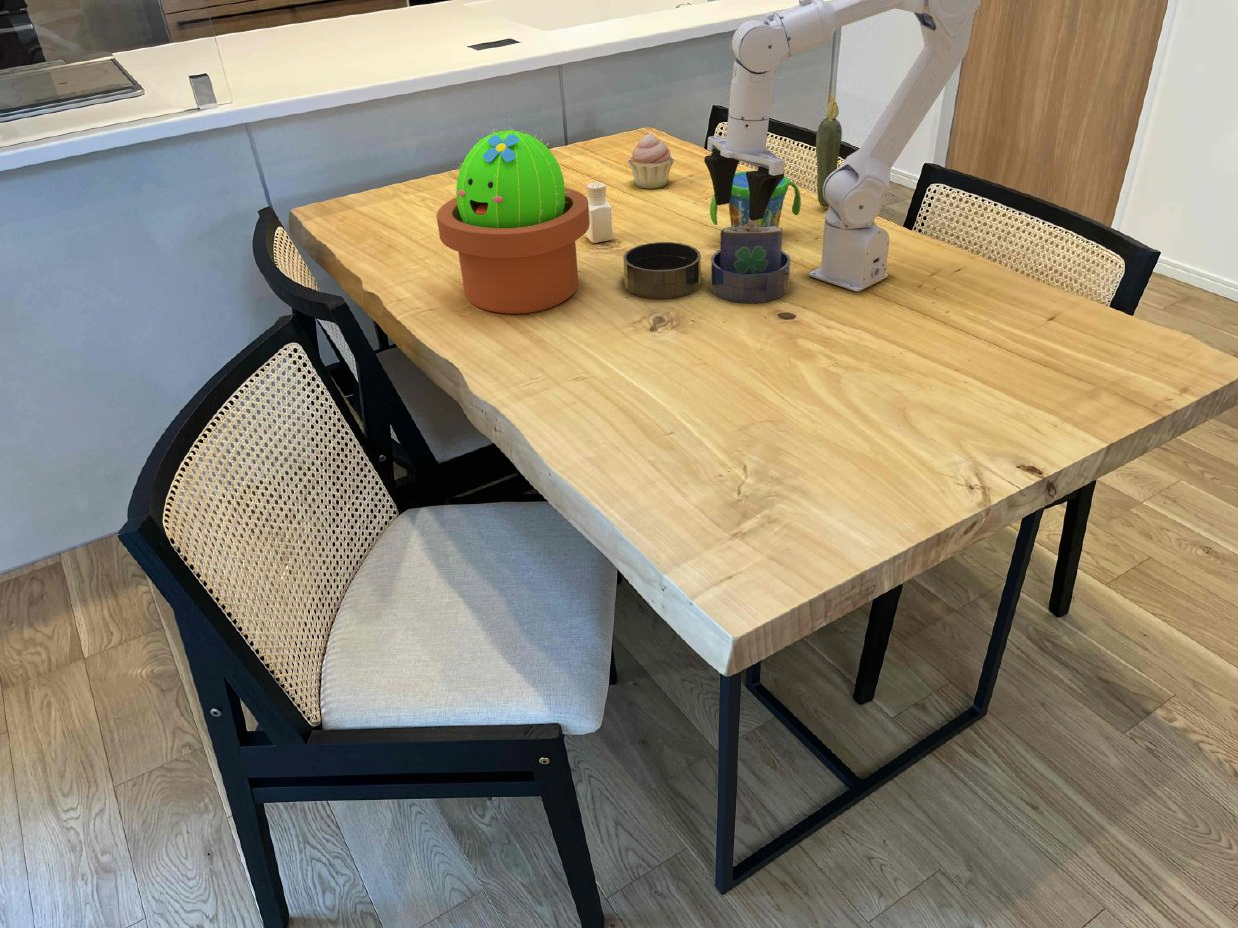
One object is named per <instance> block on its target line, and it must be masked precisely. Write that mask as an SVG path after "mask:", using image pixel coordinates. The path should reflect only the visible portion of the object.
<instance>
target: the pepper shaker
mask: <svg viewBox="0 0 1238 928" xmlns="http://www.w3.org/2000/svg"><path fill="white" fill-rule="evenodd" d="M606 187H607V186H606V183H604V182H599V181H596V182H590V183H588V184H586V193H587V197H586V198H587V200H588V205H589V220H590V225H589V228H588V230H587V232H586V233H585V237H586V238H587V239H588V240H589V241H590V242H591V243H592V244H597V243H603V242H607V241H611V240H613V237H614V235H613V217H612V216H613V214H612V205H611V204H610V203H609V202H608V201H607V191H606V190H607V188H606Z"/></svg>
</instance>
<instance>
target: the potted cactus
mask: <svg viewBox="0 0 1238 928" xmlns="http://www.w3.org/2000/svg"><path fill="white" fill-rule="evenodd" d="M508 128H509V130H506V129H504V130H498V129H496V130H495V128H493V129H491V133H489V134H487V135H486V136H485V137H482V138H481V137H480V136H478V138H477V140H478V142H477V143H475V144H474V145H473V146H472V148H469V147H468V149H469V150H470V151H469V152H468V153H467V155H466V156H465V158H464V159H463V162H460V161H459V163H457V167H456V170H459V172H458V174H457V175H455V176H456V177H455V178H456V189H455V193H456V196H455V197H453V198H452V199H450V200H448V201H446V202H445V203H444V204H443V205H441V206H440V208H439V209H438V210H437V211H436V222H437V229H438V234H439V239H440V241H441V243H442V244H443V245H444V246H445V247H447V248H449V249H451V250H453V251H456V252H458V258H459V259H458V260H459V266H460V273H461V279H462V286H463V292H464V295H465V298H466V300H467V301H468V302H469V303H470V304H471V305H473V306H475V307H476V308H480V309H483V310H485V311H489V312H494V313H500V314H529V313H536V312H540V311H544V310H549V309H551V308H553V307H556V306H557V305H560V304H562V303H563V302H565V301H567V300H568V299H570V298H571V297H572V296H573V295H574V294H575V293H576V291H577V289H578V286H579V273H578V272H579V271H578V260H577V259H578V258H577V247H576V245H577V244H576V241H578V240H579V239H581V238H582V237H583V236H585V235H586V232H587V230H588V228H589V225H590V220H589V205H588V197H586V195H585V194H583V193H582V192H580V191H577V190H575V189H572V188H569V187H570V185H571V184H570V185H569V184H565V180H564V179H566V176H564V175H563V172H565V171H566V169H565V168H564V167H562V168H561V165H560V164H559V162H558V160H557V159H556V157H555V155H554V153H553V152H552V150H550V148H548V146H549V143H546V144H544V142H543V141H542V140H543V136H542V137H541V138H540V140H539V139H538V138H536V137H537V136H538V133H536V135H535V136H532V135H531V134H529V133H527V132H524V131H523V130H519V131H518V130H513V129H511V127H510V126H508ZM458 165H459V166H458ZM567 179H569V178H567Z"/></svg>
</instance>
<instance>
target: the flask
mask: <svg viewBox="0 0 1238 928" xmlns="http://www.w3.org/2000/svg"><path fill="white" fill-rule="evenodd" d="M756 223H757V220H754V221H752V220H750V219H749V222H748V224H746V225H745V226H744V227H743V226H738V227H735V225H732V226H731V225H730V226H727V227H723V228H722V229H721V230H720V243H719V244H720V245H719V246H720V247H719V249H720V250H721V255H720V268H722V269H724V270H727V271H730V272H734V273H742V274H760V273H767V272H771V271H775V270H778V269H780V267H781V251H782V247H783V246H782V245H783V228H781V227H779V226H771V227H759V228H757V227H758V226H757V225H756ZM720 250H719V251H720Z"/></svg>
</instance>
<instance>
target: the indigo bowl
mask: <svg viewBox="0 0 1238 928" xmlns="http://www.w3.org/2000/svg"><path fill="white" fill-rule="evenodd" d="M720 255H721V250H718V251H716V252H714V254H712V256H711V257H710V280H709V281H710V283H709V285H710V290H711V293H713V294H714V295H715V296H717V297H718V298H720V299H722V300H725V301H728V302H733V303H738V304H739V303H740V304H761V303H769V302H772V301H775V300H778V299H780V298H782V297H783V296H785V295H786V294H787V293H788V291H789V287H790V280H791V279H790V278H791V263H792V259H791V257H790V255H789V254H788V253H786V251H783V250H781V267H780V269H778V270H775V271H771V272H767V273H760V274H742V273H734V272H730V271H727V270H724V269H722V268H720Z"/></svg>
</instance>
